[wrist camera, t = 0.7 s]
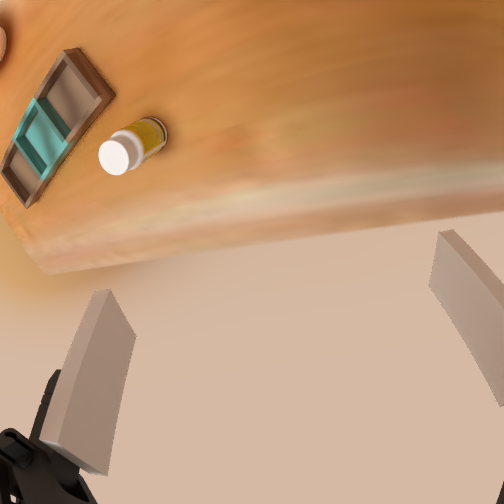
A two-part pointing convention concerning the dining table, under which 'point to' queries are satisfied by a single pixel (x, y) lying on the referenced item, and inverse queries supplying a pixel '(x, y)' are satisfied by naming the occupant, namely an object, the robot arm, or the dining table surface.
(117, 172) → the supplement bottle
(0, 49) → the lidded bowl
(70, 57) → the tray
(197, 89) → the dining table surface
